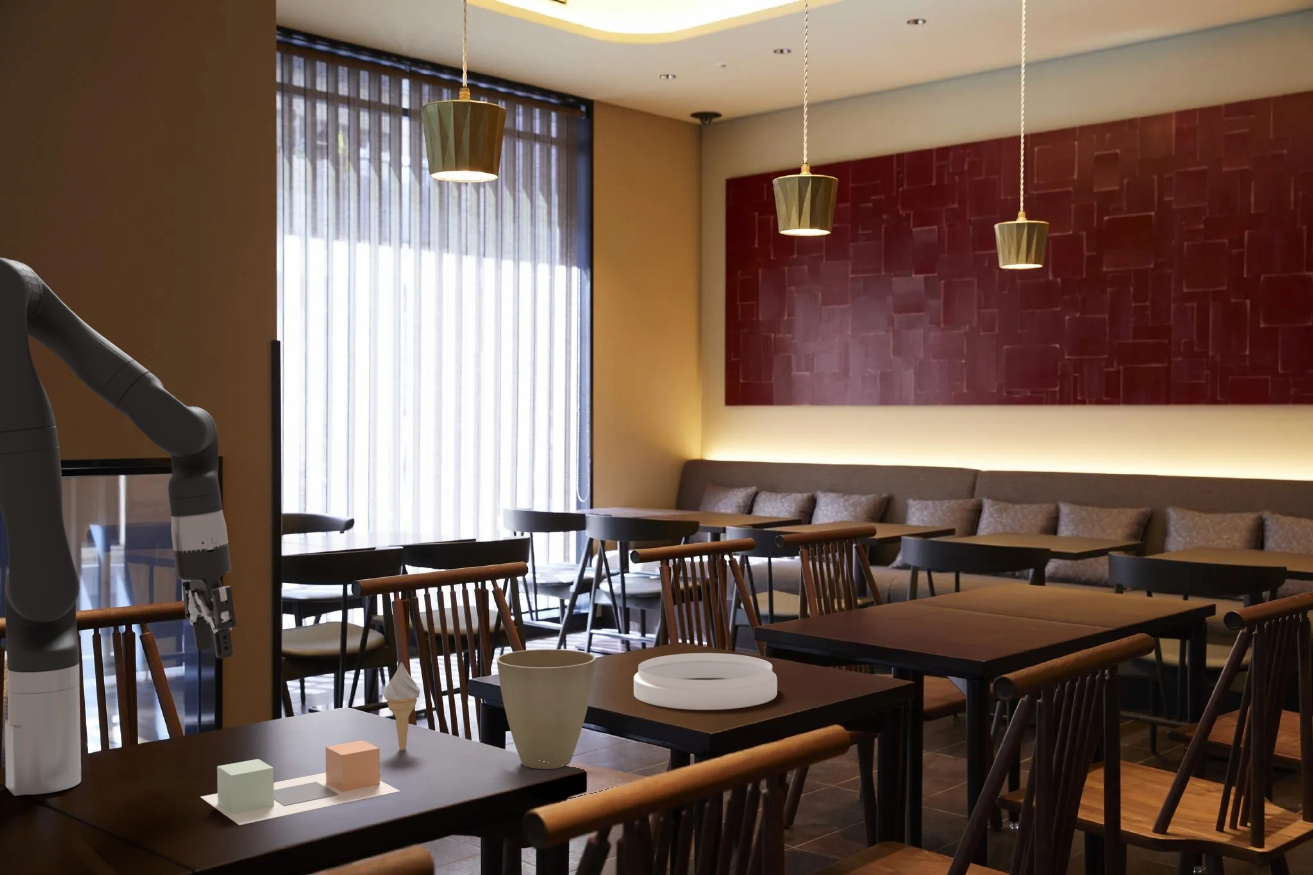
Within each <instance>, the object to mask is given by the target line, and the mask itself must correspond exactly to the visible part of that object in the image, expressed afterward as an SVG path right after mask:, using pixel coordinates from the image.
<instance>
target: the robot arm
mask: <svg viewBox="0 0 1313 875" xmlns="http://www.w3.org/2000/svg"><path fill="white" fill-rule="evenodd" d="M29 337H31V338H32V339H33V340H36V341H37V342H38V343H40V344H42V345H43V346H45V347H46V348H47V349H48V350H49V351H51V352H52V353H53V354H54V355H56V356H57V357H58V358H59V359H60V361H61V362H63V364H64V365H66V366H67V368H68V369H69V370H70V371H71V372H72V373H73V374H74V375H75V376H76V377H77V378H78V379H79V380H80V382H81V383H83V385H85V387H87V388H89V390H91V391H92V392H93V393H94V394H96V395H97V396H99V397H100V398H101V399H102V400H103V401H105V402H106V403H107V404H109V405H110V406H111V407H113V408H114V409H115V410H116V411H118V412H120V413H121V414H122V415H124V416H125V417H127V418H128V419H129V420H131V422H132V423H133V425H135V426H136V427H137V428H138V429H139V430H140V431H141V432H142V434H144V435H145V436H146V437H147V438H148V439H149V440H151V442H152V443H153V444H155V445H156V446H157V447H159V449H161V450H162V451H164V452H166V453H168V454H169V455H170V458H171V459H170V460H171V462H170V463H171V469H172V470H171V471H172V472H171V476H170V479H169V481H168V485H167V486H168V487H167V488H168V501H169V509H170V517H171V526H170V527H171V528H170V529H171V530H170V531H171V541H172V547H173V556H174V563H175V571H176V572H175V573H176V577H177V579H179V581H182V582H181V588H182V596H183V602H184V603H183V606H184V613H185V614H184V616H185V618H186V620H189V623H190V626H192V631H193V639H194V645H195V646H194V647H195V649H196V650H198V651H204V650H208V649H210V648H212V646H213V644H214V651H215V652H214V654H215V657H216V658H218V659H221V660H222V659H225V658H229V657H232V656H233V652H234V651H233V643H232V636H231V630H233V628H236V627H237V621H236V620H237V619H236V614H235V613H236V612H235V606H234V600H233V592H232V587H231V586H230V585H227V586H226V585H225V586H223V585H222V581H221V577H222V576H224V575H227V574H229V573H230V572H231V571H232V563H231V554H230V546H229V540H228V539H229V538H228V529H227V524H226V520H225V517H224V511H223V502H222V496H221V488H220V484H219V472H218V471H219V437H218V436H219V435H218V429H217V425H216V422H215V419H214V418H213V417H212V415H211V414H210V413H209V412H208V411H207V410H205V409H203V408H201V407H198V406H193V405H192V406H187V405H185V404H184V403H183V402H181V401H180V400H179V399H177V398H176V396H174V395H173V394H171V393H170V392H169V391H168V390H166V389H165V388H164V384H163V383H162V381H161V380H160V379H159V378H158V377H157V376H156V375H154V374H153V373H152V372H150V370H148V369H147V368H146V367H145V366H143V365H141V364H140V363H139V362H138V361H137V360H135V359H134V358H132V357H131V356H130V355H128V354H127V353H126V352H124V351H123V350H122V349H121V348H119V347H118V346H116V345H115V344H114V343H112V342H111V341H110V340H108V339H107V338H106V337H104V336H103V335H102V334H100V333H99V332H98V331H96V330H95V329H93V328H92V327H91V326H89V324H88V323H86V322H85V321H84V320H83V319H81V318H80V317H79V316H78V315H77V314H76V313H75V312H74V311H73V310H72V309H70V307H68V305H67V304H65V303H64V302H63V300H61V298H60V297H59V296H58V295H57V294H56V293H55V292H54V291H53V290H52V289H51V287H49V286H48V285H47V284H46V282H44V280H43V279H41V277H40V276H39V275H38V274H37V273H36V272H35V271H34V270H33V268H31V267H30V266H28V265H27V264H26V263H23V262H20V261H18V260H14V259H10V258H4V257H0V511H1V515H2V517H3V522H4V526H5V532H6V542H7V543H6V544H7V558H8V573H7V574H6V578H5V582H4V615H5V616H4V618H5V644H6V645H5V648H6V649H5V650H6V666H7V667H6V668H7V715H8V716H7V718H8V719H6V720H5V722H4V744H5V745H4V747H5V752H4V753H5V755H4V756H5V760H4V762H5V787H6V788H7V789H8V790H9V792H10V793H11V794H12V795H13V796H14V797H17V796H24V795H42V794H49V793H51V794H52V793H55V792H60V791H61V792H62V791H63V790H67V789H68V790H69V789H70V788H74V787H76V786H77V785H79V784H80V783H81V781H82V764H81V763H82V762H81V761H82V759H81V758H82V757H81V753H82V752H81V712H80V711H81V706H80V705H81V703H80V702H81V701H80V700H81V699H80V646H79V645H80V644H79V638H78V627H77V600H78V598H79V594H80V580H79V576H78V573H77V570H76V566H75V563H74V560H73V556H72V552H71V549H70V545H69V541H68V537H67V531H66V528H65V521H64V512H63V511H64V509H63V508H64V507H63V477H62V465H61V453H60V444H59V437H58V430H57V423H56V418H55V414H54V411H53V408H52V404H51V401H50V399H49V396H48V393H47V392H46V389H45V387H44V385H43V383H42V381H41V379H40V376H39V374H38V372H37V369H36V367H35V364H34V362H33V359H32V355H31V354H32V353H31V351H30V344H29ZM210 626H211V627H210ZM211 630H212V632H213V633H212V634H213V644H212V635H211Z"/></svg>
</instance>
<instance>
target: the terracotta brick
mask: <svg viewBox="0 0 1313 875" xmlns="http://www.w3.org/2000/svg"><path fill="white" fill-rule="evenodd" d="M380 753H381V752H380V747H378V746H375V745H373V744H371V743H369V742H367V741H365V740H356V741H351V742H350V741H349V742H346V743H340V744H336V745H335V744H334V745H330V746H325V773H326V783H328V784H329V785H331V786H333V787H335V788H337V789H338V790H340V791H342V792H344V791H349V790H354V789H359V788H364V787H368V786H373V785H378V784H380V781H381V773H380V771H381V770H380V769H381V766H380V765H381V763H380V759H381V758H380V757H381V756H380Z"/></svg>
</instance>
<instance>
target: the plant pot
mask: <svg viewBox="0 0 1313 875" xmlns="http://www.w3.org/2000/svg"><path fill="white" fill-rule="evenodd" d="M596 659H597V658H596V656H595V655H594V654H591V653H590V652H585V651H580V650H572V649H571V650H570V649H559V648H558V649H555V648H554V649H553V648H545V649H544V648H543V649H542V648H541V649H540V648H539V649H526V650H518V651H517V650H515V651H512V652H511V651H510V652H507V653H504V654H502V655H500V656H498V657H497V658H496V664H497V674H498V679H499V685H500V686H499V687H500V692H501V697H502V702H503V707H504V710H505V715H506V720H507V723H508V727H509V730H510V733H511V737H512V740H513V743H514V746H515V748H516V751H517V754H518V756H519V760H520V763H521V765H523V766H524V767H527V768H530V769H536V770H551V769H560V768H562V767H563V766H562V765H565V766H564V767H566V766H569V765H570V763H571V762H572V760H573V757H574V753H575V750H576V748H577V746H578V743H579V739H580V736H581V733H582V729H583V725H584V722H585V718H586V715H587V710H588V708H589V701H590V697H591V692H592V686H593V680H594V674H595V667H596ZM539 760H540V761H539ZM543 761H545V762H543ZM548 762H549V763H548Z"/></svg>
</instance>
